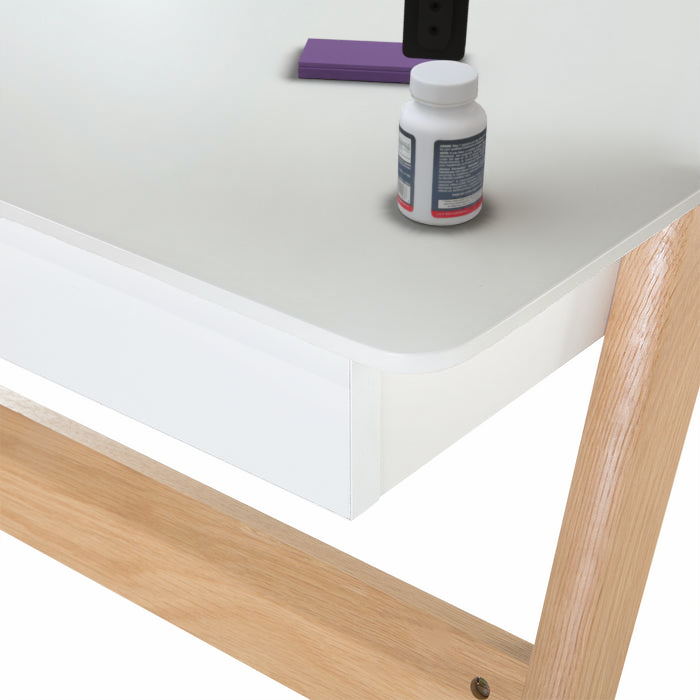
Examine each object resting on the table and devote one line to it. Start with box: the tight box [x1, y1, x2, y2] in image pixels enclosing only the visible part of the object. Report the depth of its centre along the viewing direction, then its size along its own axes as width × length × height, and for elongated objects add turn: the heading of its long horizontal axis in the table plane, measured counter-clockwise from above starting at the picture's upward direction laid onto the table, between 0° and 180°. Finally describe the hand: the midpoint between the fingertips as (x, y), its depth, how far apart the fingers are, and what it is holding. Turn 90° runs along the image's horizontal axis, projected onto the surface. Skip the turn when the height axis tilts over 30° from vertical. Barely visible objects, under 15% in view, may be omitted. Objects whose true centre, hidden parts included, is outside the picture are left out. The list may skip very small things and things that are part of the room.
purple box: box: [297, 37, 459, 84], centre depth 96 cm, size 12×6×1 cm, turn 83°
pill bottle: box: [396, 60, 488, 227], centre depth 74 cm, size 5×5×9 cm
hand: (433, 53), depth 64 cm, fingers closed
